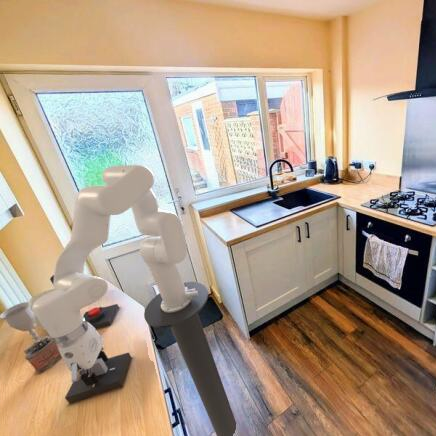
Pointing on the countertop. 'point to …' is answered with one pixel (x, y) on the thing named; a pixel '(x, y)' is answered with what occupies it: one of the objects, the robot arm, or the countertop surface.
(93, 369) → the knob
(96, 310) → the power button
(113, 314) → the base
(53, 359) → the brick-red planter box
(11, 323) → the chalice
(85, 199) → the robot arm
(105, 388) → the control panel
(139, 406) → the countertop surface
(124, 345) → the countertop surface
